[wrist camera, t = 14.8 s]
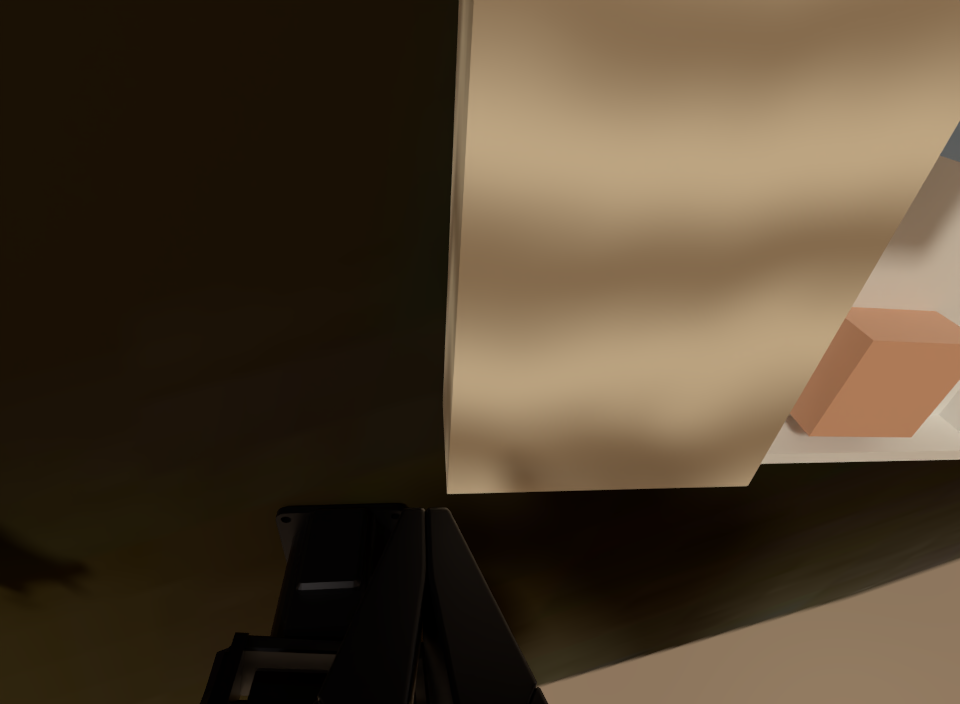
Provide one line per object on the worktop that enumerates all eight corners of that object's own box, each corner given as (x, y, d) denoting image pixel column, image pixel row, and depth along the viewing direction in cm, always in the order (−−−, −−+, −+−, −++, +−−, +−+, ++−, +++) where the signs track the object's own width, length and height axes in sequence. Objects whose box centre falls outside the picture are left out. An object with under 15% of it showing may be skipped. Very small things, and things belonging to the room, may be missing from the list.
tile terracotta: (809, 436, 22) (776, 397, 24) (910, 437, 22) (871, 399, 24) (873, 340, 19) (830, 305, 21) (988, 344, 20) (936, 311, 22)
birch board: (694, 402, 24) (747, 485, 20) (442, 404, 23) (447, 494, 19) (904, -95, 14) (1102, -126, 10) (465, -148, 12) (485, -209, 8)
